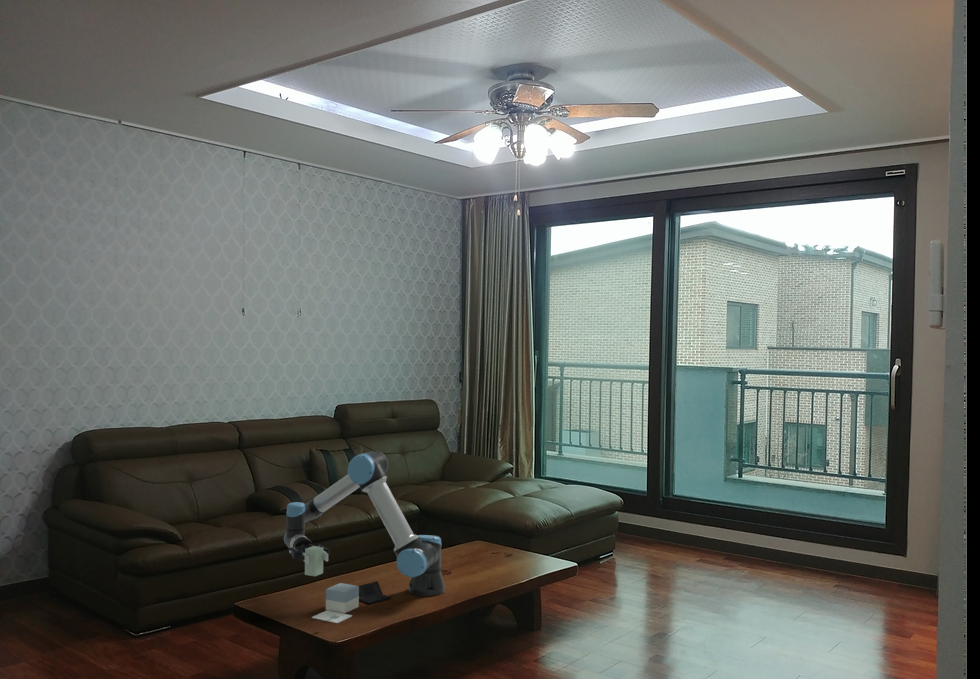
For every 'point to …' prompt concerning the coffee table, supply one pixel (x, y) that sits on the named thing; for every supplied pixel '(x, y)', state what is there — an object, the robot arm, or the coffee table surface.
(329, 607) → the tower base
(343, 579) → the coffee table surface
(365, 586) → the handheld gaming console
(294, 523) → the robot arm
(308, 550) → the top brick
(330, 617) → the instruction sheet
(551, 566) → the coffee table surface
